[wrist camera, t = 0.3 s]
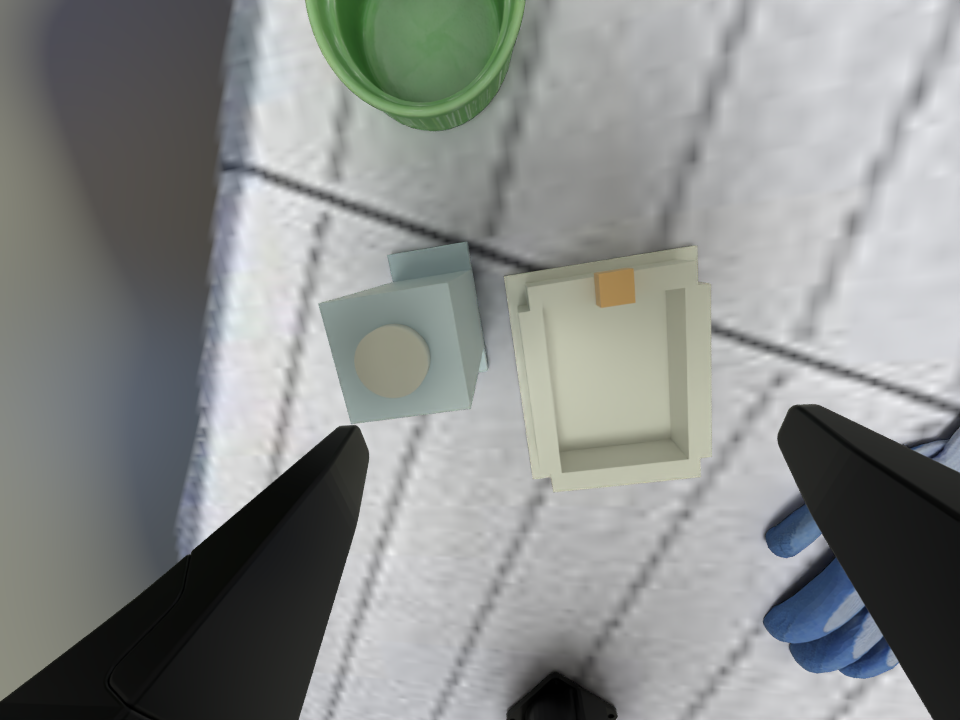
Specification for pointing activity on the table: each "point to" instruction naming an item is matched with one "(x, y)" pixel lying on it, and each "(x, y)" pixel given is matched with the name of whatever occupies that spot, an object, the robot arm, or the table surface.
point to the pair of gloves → (835, 599)
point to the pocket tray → (614, 369)
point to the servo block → (409, 338)
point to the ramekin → (419, 54)
